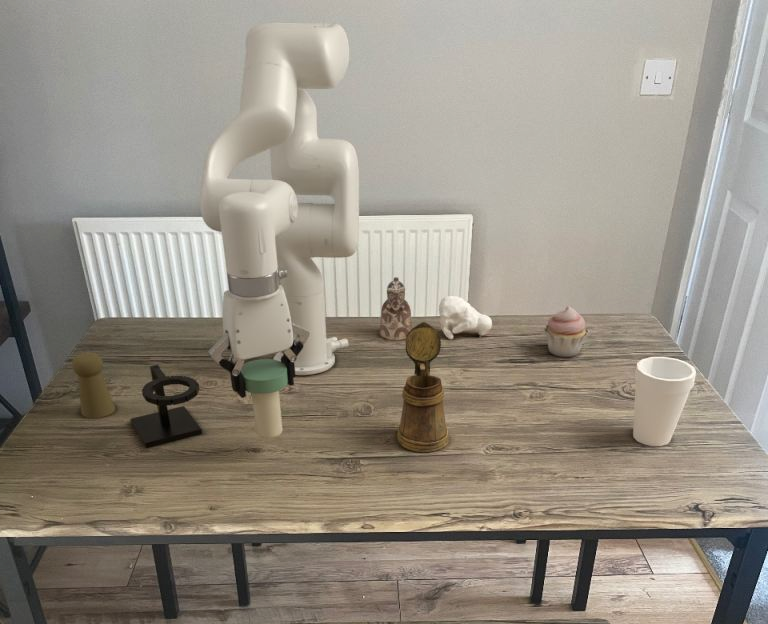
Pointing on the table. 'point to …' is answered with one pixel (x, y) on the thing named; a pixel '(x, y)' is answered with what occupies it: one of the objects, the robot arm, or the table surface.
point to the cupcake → (565, 333)
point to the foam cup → (660, 398)
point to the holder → (166, 411)
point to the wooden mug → (423, 395)
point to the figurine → (395, 313)
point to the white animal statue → (461, 317)
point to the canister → (266, 393)
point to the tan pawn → (92, 386)
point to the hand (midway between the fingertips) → (264, 387)
